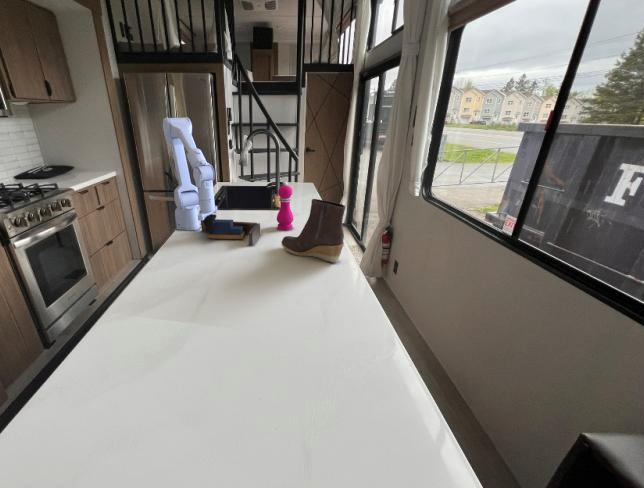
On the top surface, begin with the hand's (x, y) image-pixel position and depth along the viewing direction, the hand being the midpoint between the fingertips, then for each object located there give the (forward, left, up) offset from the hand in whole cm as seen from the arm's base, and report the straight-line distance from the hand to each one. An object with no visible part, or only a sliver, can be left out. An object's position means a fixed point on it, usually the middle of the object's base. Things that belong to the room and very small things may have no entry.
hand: (210, 233), depth 128 cm
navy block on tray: (+5, +3, -3) cm, 7 cm away
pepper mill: (+27, +19, -3) cm, 33 cm away
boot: (+41, -7, -3) cm, 41 cm away
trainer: (+5, +4, -3) cm, 7 cm away
